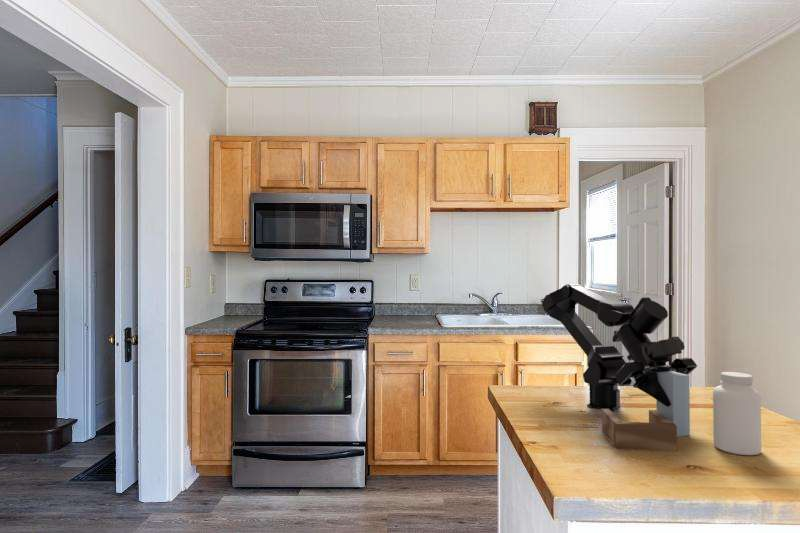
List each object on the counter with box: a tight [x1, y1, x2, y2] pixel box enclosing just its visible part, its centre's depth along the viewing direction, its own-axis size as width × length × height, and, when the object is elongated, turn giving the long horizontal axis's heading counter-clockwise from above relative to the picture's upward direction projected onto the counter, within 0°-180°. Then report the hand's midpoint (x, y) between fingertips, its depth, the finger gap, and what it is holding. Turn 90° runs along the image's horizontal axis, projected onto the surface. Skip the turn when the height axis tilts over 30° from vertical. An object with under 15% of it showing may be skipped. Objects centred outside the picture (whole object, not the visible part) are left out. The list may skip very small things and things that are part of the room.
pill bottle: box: [712, 371, 762, 456], centre depth 99 cm, size 8×8×15 cm
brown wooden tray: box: [601, 409, 678, 452], centre depth 104 cm, size 11×12×5 cm
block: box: [656, 371, 691, 438], centre depth 109 cm, size 4×4×13 cm
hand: (678, 404), depth 107 cm, fingers closed on block, 4 cm apart
